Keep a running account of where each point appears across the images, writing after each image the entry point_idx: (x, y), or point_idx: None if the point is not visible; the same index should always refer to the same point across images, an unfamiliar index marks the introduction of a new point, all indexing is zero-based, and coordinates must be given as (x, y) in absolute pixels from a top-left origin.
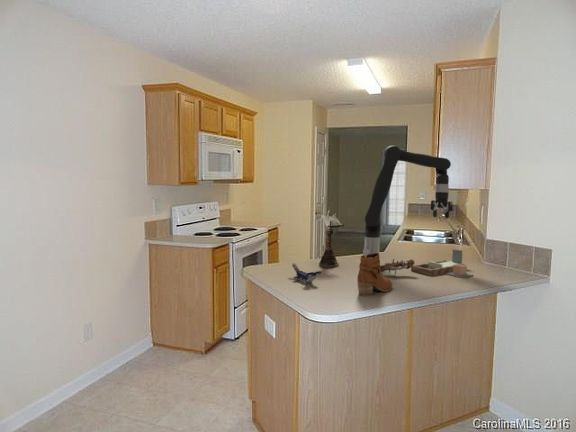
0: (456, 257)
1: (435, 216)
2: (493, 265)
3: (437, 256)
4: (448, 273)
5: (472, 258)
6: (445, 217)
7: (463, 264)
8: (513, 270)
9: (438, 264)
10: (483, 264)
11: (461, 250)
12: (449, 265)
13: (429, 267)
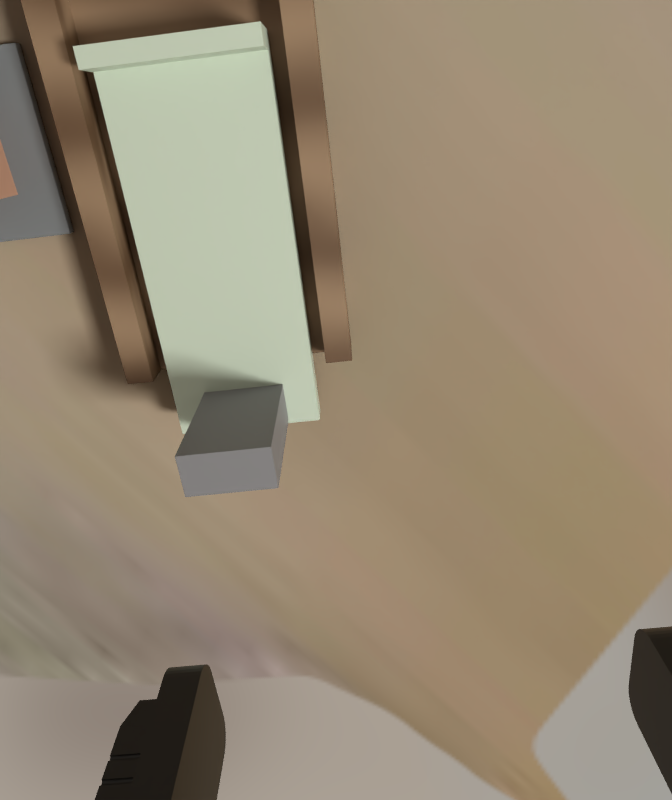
0: (228, 412)
1: (641, 675)
2: (203, 659)
3: (651, 558)
4: (2, 56)
5: (445, 709)
6: (185, 679)
7: (133, 377)
8: (31, 650)
9: (115, 41)
10: (254, 630)
11: (181, 481)
12: (161, 236)
13: None
